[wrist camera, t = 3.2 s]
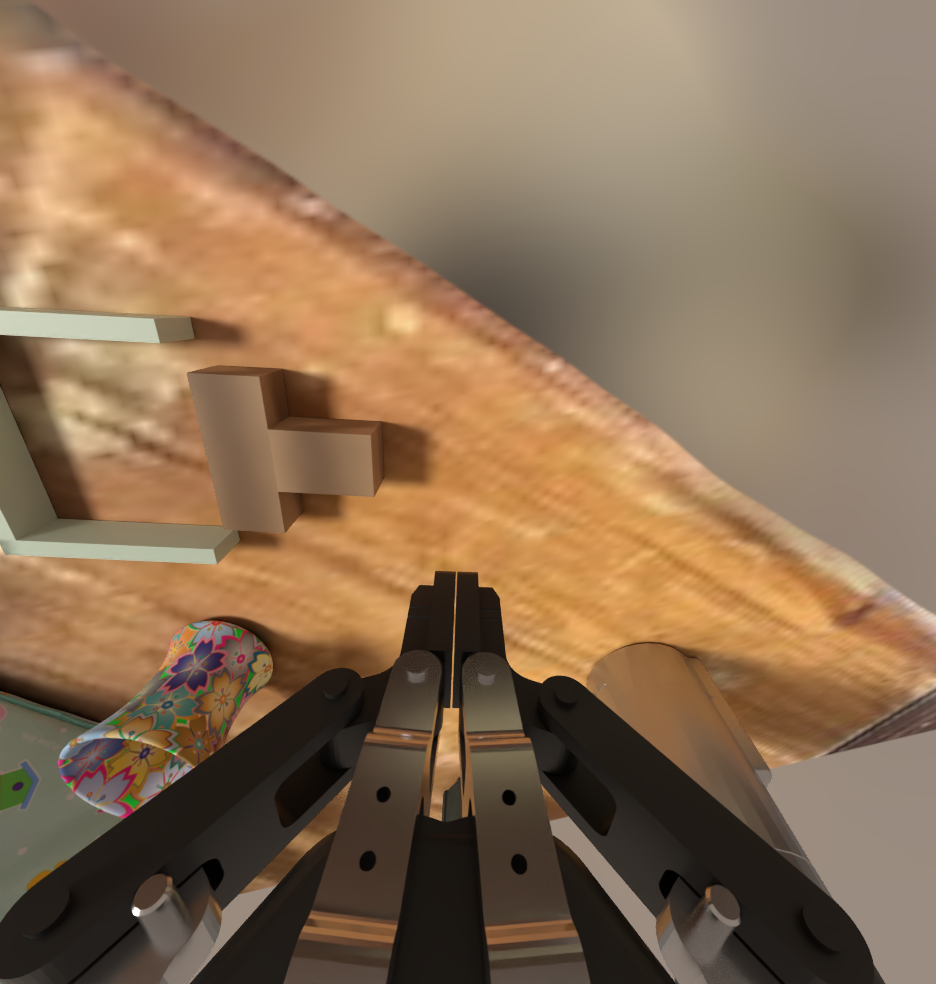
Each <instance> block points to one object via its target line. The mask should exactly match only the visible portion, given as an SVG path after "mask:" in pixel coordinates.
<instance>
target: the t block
mask: <svg viewBox="0 0 936 984" xmlns="http://www.w3.org/2000/svg"><path fill="white" fill-rule="evenodd" d="M187 377H188V381H189V385H190V389H191V394H192V398H193V402H194V406H195V410H196V415H197V419H198V423H199V427H200V431H201V435H202V440H203V444H204V448H205V452H206V456H207V461H208V465H209V469H210V473H211V477H212V482H213V486H214V490H215V494H216V498H217V503H218V507H219V511H220V515H221V519H222V523H223V528H224V530H237V531H255V532H274V533H285V532H286V531H287V530H288V529H289V528H290V526H291V525H292V524H293V523H294V522H295V521H296V519H297V518H298V517H299V516H300V515H301V513H302V512H303V509H302V502H301V495H300V493H310V494H329V495H347V496H365V497H374V496H375V494H376V492H377V491H378V489H379V487H380V485H381V483H382V481H383V479H384V462H383V438H382V422H380V421H362V420H344V419H326V418H307V417H290V416H289V409H288V402H287V395H286V388H285V381H284V374H283V369H277V368H257V367H238V366H219V365H217V366H213V367H209V368H205V369H200V370H196V371H192V372H188V373H187Z"/></svg>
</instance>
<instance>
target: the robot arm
mask: <svg viewBox="0 0 936 984" xmlns="http://www.w3.org/2000/svg"><path fill="white" fill-rule="evenodd" d="M455 577H456V572H450V571H435V578H434V586H430V585H419V586H418V588H417V589H416V590H415V591H414V593H413V594H412V596H411V601H410V607H409V612H408V618H407V622H406V628H405V633H404V639H403V644H402V649H401V654H400V657H399V658H398V659H397V660H396V661H395V663H394V664H393V666H392V667H391V668H389V669H388V670H386V671H385V672H382V673H380V674H377V675H373V676H369V677H365V678H362V679H361V677H360V675H359V674H358V673H356V672H355V671H353V670H351V669H347V668H337V669H332V670H329V671H327V672H325V673H323V674H322V675H320V676H319V677H317V678H316V679H315V680H313V681H312V682H310V683H309V684H308V685H306V686H305V687H304V688H302V689H301V690H300V691H298V692H297V693H295V694H294V695H293V696H291V697H290V698H289V699H287V700H286V701H284V702H283V703H282V704H280V705H279V706H278V707H276V708H275V709H274V710H272V711H271V712H269V713H268V714H267V715H265V716H264V717H263V718H261V719H260V720H259V721H257V722H256V723H254V724H253V725H252V726H250V727H249V728H248V729H246V730H245V731H244V732H242V733H241V734H239V735H238V736H237V737H235V738H234V739H233V740H231V741H230V742H228V743H227V744H226V745H224V746H223V747H222V748H220V749H219V750H218V751H216V752H215V753H213V754H212V755H211V756H209V757H208V758H207V759H205V760H204V761H203V762H201V763H200V764H198V765H197V766H196V767H194V768H193V769H192V770H190V771H189V772H187V773H186V774H185V775H183V776H182V777H181V778H179V779H178V780H177V781H175V782H174V783H172V784H171V785H170V786H168V787H167V788H166V789H164V790H163V791H162V792H160V793H159V794H157V795H156V796H155V797H153V798H152V799H151V800H149V801H148V802H147V803H145V804H144V805H142V806H141V807H140V808H138V809H137V810H136V811H134V812H133V813H131V814H130V815H129V816H127V817H126V818H125V819H123V820H122V821H121V822H119V823H118V824H116V825H115V826H114V827H112V828H111V829H110V830H108V831H107V832H106V833H104V834H103V835H101V836H100V837H99V838H97V839H96V840H95V841H93V842H92V843H91V844H89V845H88V846H86V847H85V848H84V849H82V850H81V851H80V852H78V853H77V854H75V855H74V856H73V857H71V858H70V859H69V860H67V861H66V862H65V863H63V864H62V865H60V866H59V867H58V868H56V869H55V870H54V871H52V872H51V873H50V874H48V875H47V876H45V877H44V878H43V879H41V880H40V881H39V882H37V883H36V884H35V885H34V886H32V887H31V888H30V889H29V890H28V891H27V892H26V893H25V894H23V895H22V896H21V897H20V899H19V900H18V901H17V902H16V903H15V904H14V905H13V906H12V907H11V909H10V910H9V911H8V912H7V914H6V915H5V916H4V918H3V919H2V921H1V922H0V982H2V983H3V984H188V983H189V981H190V980H191V978H192V977H193V976H194V974H195V973H196V972H197V971H198V969H199V968H200V967H201V966H202V964H203V963H204V962H205V960H206V959H207V957H208V955H209V954H210V952H211V950H212V948H213V946H214V944H215V942H216V939H217V937H218V934H219V931H220V926H221V920H222V910H223V909H224V908H225V907H226V906H227V905H228V904H229V903H230V902H231V901H232V900H233V899H234V898H235V897H236V896H237V895H238V894H239V893H240V892H241V891H242V890H243V889H244V888H245V887H246V886H247V885H248V884H249V883H250V882H251V881H252V880H253V879H254V878H255V877H256V876H257V875H258V874H259V873H260V872H261V871H262V870H263V869H264V868H265V867H266V866H267V865H268V864H269V863H270V862H271V861H272V860H273V859H274V858H275V857H276V856H277V855H278V854H279V853H280V852H281V851H282V850H283V849H284V848H285V847H286V846H287V845H288V844H289V843H290V842H291V841H292V840H293V839H294V838H295V837H296V836H297V835H298V834H299V833H300V832H301V831H302V830H303V829H304V828H305V827H306V826H307V824H308V823H309V822H310V821H311V820H312V819H313V818H314V817H315V816H316V815H317V814H318V813H319V812H320V811H321V810H322V809H323V808H324V807H325V806H326V805H327V804H328V803H329V802H330V801H331V800H332V799H333V798H334V797H335V796H336V795H337V794H338V793H339V792H340V791H341V790H342V789H343V788H344V787H345V786H346V785H347V784H348V783H349V782H350V781H351V780H352V782H351V785H350V788H349V791H348V795H347V798H346V801H345V804H344V808H343V811H342V814H341V817H340V820H339V824H338V827H337V830H336V831H334V832H333V833H331V834H329V835H327V836H326V837H325V838H323V839H322V840H321V841H319V842H318V843H317V844H316V845H315V846H313V847H312V848H311V849H310V850H309V851H308V852H307V853H306V854H305V855H304V856H303V857H302V858H301V859H300V860H299V861H298V863H297V864H296V865H295V866H294V867H293V868H292V869H291V870H290V872H289V873H288V874H287V875H286V876H285V877H284V878H283V879H282V881H281V882H280V883H279V884H278V885H277V886H276V887H275V889H274V890H273V891H272V892H271V893H270V894H269V895H268V896H267V897H266V899H265V900H264V901H263V902H262V903H261V904H260V905H259V906H258V908H257V909H256V910H255V911H254V912H253V913H252V915H251V916H250V917H249V918H248V919H247V920H246V921H245V922H244V923H243V924H242V926H241V927H240V928H239V929H238V930H237V931H236V932H235V933H234V935H233V936H232V937H231V938H230V939H229V940H228V941H227V942H226V944H225V945H224V946H223V947H222V948H221V949H220V950H219V952H218V953H217V954H216V955H215V956H214V957H213V958H212V959H211V961H210V962H209V963H208V964H207V965H206V966H205V967H204V968H203V969H202V971H201V972H200V973H199V974H198V975H197V976H196V977H195V979H194V980H193V981H192V982H191V983H190V984H885V983H884V981H883V979H882V977H881V976H880V974H879V972H878V971H877V969H876V968H875V966H874V964H873V959H872V956H871V953H870V950H869V948H868V946H867V944H866V941H865V940H864V938H863V936H862V935H861V933H860V931H859V930H858V928H857V927H856V925H855V923H854V922H853V921H852V920H851V918H850V917H849V916H848V915H847V913H846V912H845V911H844V910H843V909H842V908H841V907H840V906H839V905H838V904H837V903H836V902H835V901H834V899H833V898H832V896H831V894H830V893H829V891H828V890H827V888H826V886H825V885H824V883H823V881H822V880H821V878H820V876H819V875H818V873H817V872H816V870H815V868H814V867H813V865H812V864H811V862H810V860H809V859H808V857H807V855H806V854H805V852H804V850H803V849H802V847H801V845H800V844H799V842H798V841H797V839H796V837H795V835H794V834H793V832H792V830H791V829H790V827H789V825H788V824H787V822H786V821H785V819H784V817H783V815H782V814H781V812H780V810H779V809H778V807H777V805H776V804H775V802H774V801H773V799H772V797H771V796H770V794H769V792H768V791H767V789H766V788H767V786H768V784H769V783H770V781H771V778H772V775H771V771H770V769H769V767H768V766H767V764H766V762H765V761H764V759H763V758H762V756H761V755H760V753H759V752H758V750H757V748H756V747H755V745H754V744H753V742H752V741H751V739H750V737H749V736H748V734H747V733H746V731H745V730H744V728H743V727H742V725H741V723H740V722H739V720H738V719H737V717H736V716H735V714H734V712H733V711H732V709H731V708H730V706H729V705H728V703H727V702H726V700H725V698H724V697H723V695H722V694H721V692H720V691H719V689H718V688H717V686H716V684H715V683H714V681H713V680H712V678H711V677H710V675H709V673H708V672H707V670H706V669H705V667H704V666H703V664H702V663H701V661H700V660H699V659H698V658H688V657H686V656H685V655H683V654H682V653H681V652H679V651H678V650H676V649H674V648H672V647H669V646H666V645H661V644H652V643H644V644H635V645H631V646H627V647H623V648H621V649H619V650H616V651H614V652H612V653H610V654H609V655H607V656H606V657H604V658H603V659H602V660H601V661H600V662H599V663H597V664H596V666H595V667H594V668H593V670H592V671H591V673H590V676H589V678H588V684H587V688H586V687H584V686H583V685H582V684H581V683H579V682H578V681H576V680H575V679H572V678H570V677H566V676H553V677H550V678H548V679H546V680H545V681H544V682H543V683H542V684H541V683H538V682H535V681H532V680H529V679H527V678H524V677H522V676H520V675H519V674H518V673H516V672H515V671H514V670H513V669H512V668H511V667H510V665H509V663H508V661H507V659H506V653H505V643H504V634H503V625H502V616H501V607H500V598H499V596H498V595H497V594H496V592H495V591H494V589H493V588H489V587H479V586H478V572H458V573H457V596H456V621H455V649H454V677H453V705H452V708H459V729H458V742H459V759H460V777H461V795H462V818H460V819H456V820H453V821H449V822H443V821H439V820H436V819H433V818H430V817H429V814H430V804H431V796H432V789H433V782H434V775H435V768H436V760H437V753H438V746H439V739H440V730H441V728H442V723H443V708H450V699H451V675H452V651H453V626H454V602H455ZM541 784H542V786H543V787H544V788H545V789H546V790H547V791H548V793H549V794H550V795H551V796H552V797H553V798H554V800H555V801H556V802H557V803H558V804H559V805H560V807H561V808H562V809H563V810H564V811H565V812H566V814H567V815H568V816H569V817H570V818H571V819H572V821H573V822H574V823H575V824H576V825H577V826H578V828H579V829H580V830H581V831H582V832H583V833H584V834H585V836H586V837H587V838H588V839H589V840H590V841H591V843H592V844H593V845H594V846H595V847H596V849H597V850H598V851H599V852H600V853H601V854H602V856H603V857H604V858H605V859H606V860H607V861H608V863H609V864H610V865H611V866H612V867H613V869H614V870H615V871H616V872H617V873H618V874H619V875H620V877H621V878H622V879H623V880H624V881H625V882H626V884H627V885H628V886H629V887H630V888H631V890H632V891H633V892H634V893H635V894H636V895H637V896H638V898H639V899H640V900H641V901H642V902H643V904H644V905H645V906H646V907H647V908H648V909H649V911H650V912H651V913H652V914H653V915H654V916H655V918H656V934H657V940H658V944H659V947H660V951H661V953H662V956H663V958H664V960H665V962H666V964H667V966H668V968H669V969H670V971H671V972H672V974H673V976H674V979H675V982H674V980H673V979H672V978H671V977H670V975H669V974H668V973H667V971H666V970H665V969H664V967H663V966H662V965H661V963H660V962H659V961H658V960H657V958H656V957H655V956H654V954H653V953H652V952H651V950H650V949H649V948H648V947H647V945H646V944H645V943H644V941H643V940H642V939H641V937H640V936H639V935H638V933H637V932H636V931H635V930H634V928H633V927H632V926H631V924H630V923H629V922H628V920H627V919H626V918H625V917H624V915H623V914H622V913H621V911H620V910H619V909H618V907H617V906H616V905H615V903H614V902H613V901H612V900H611V898H610V897H609V896H608V894H607V893H606V892H605V890H604V889H603V888H602V887H601V885H600V884H599V883H598V881H597V880H596V879H595V877H594V876H593V875H592V873H591V872H590V871H589V870H588V868H587V867H586V866H585V864H584V863H583V862H582V861H581V859H580V858H579V857H578V856H577V855H576V854H575V853H574V852H573V851H572V850H571V849H570V848H569V847H568V846H566V845H565V844H564V843H563V842H562V841H561V840H559V839H558V838H556V837H555V836H553V835H552V831H551V826H550V822H549V817H548V813H547V808H546V804H545V799H544V795H543V790H542V786H541Z"/></svg>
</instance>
